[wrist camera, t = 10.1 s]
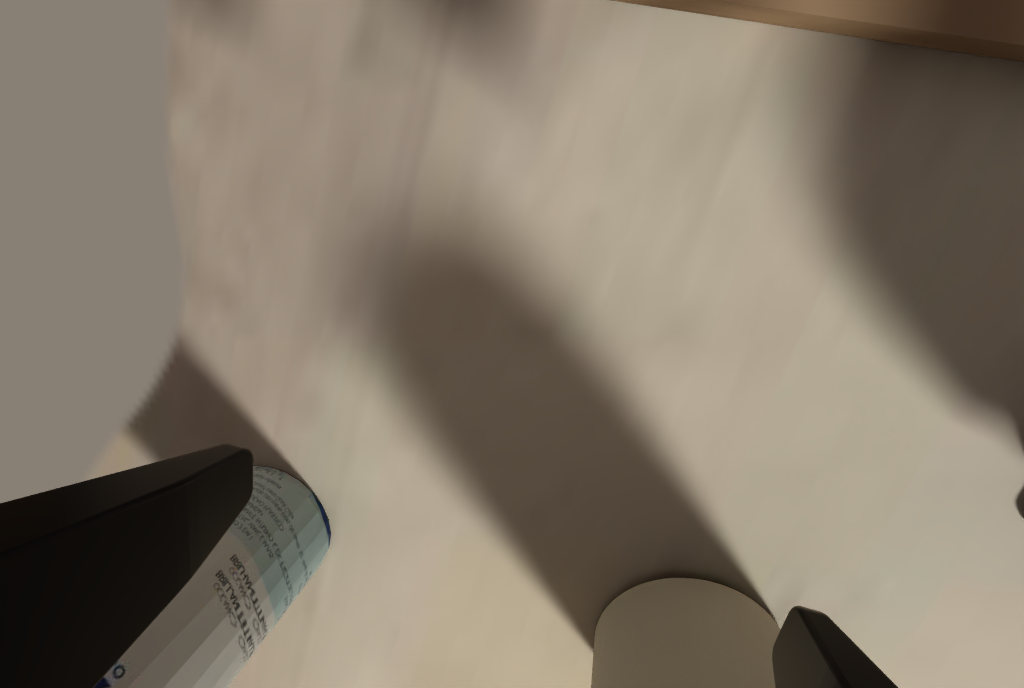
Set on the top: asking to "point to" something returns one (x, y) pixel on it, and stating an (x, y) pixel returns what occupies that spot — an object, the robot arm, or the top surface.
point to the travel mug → (683, 638)
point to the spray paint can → (232, 592)
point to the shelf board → (885, 20)
